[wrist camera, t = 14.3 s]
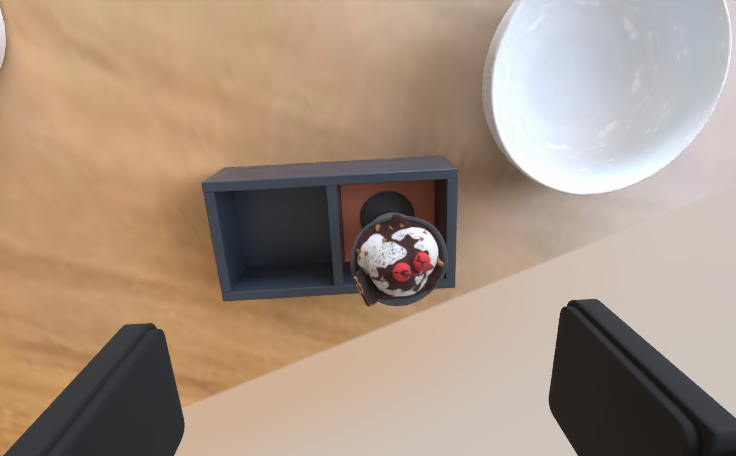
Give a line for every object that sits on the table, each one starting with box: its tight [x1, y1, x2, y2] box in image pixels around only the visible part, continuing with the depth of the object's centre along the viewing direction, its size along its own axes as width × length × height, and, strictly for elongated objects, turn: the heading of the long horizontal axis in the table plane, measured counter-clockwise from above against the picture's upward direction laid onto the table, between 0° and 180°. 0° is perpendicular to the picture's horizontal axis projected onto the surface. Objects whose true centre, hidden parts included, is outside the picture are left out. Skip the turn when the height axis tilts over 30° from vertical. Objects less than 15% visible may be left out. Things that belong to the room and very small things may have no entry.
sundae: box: [350, 191, 448, 306], centre depth 31 cm, size 7×7×15 cm
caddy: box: [202, 156, 458, 301], centre depth 36 cm, size 10×19×6 cm, turn 93°
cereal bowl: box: [482, 0, 732, 195], centre depth 32 cm, size 17×17×7 cm
